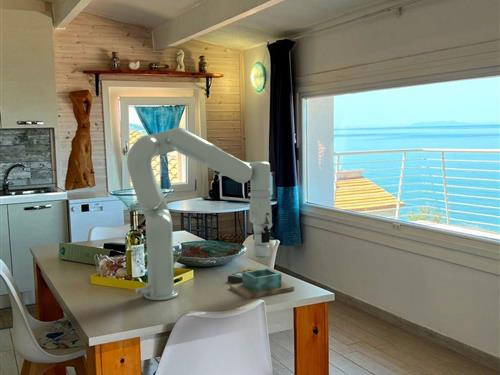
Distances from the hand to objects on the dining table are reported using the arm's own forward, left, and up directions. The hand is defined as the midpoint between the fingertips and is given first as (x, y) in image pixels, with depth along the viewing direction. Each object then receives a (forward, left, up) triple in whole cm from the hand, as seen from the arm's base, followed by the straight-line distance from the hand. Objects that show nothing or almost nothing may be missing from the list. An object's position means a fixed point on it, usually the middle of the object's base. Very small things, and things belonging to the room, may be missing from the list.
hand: (261, 240), depth 210 cm
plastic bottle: (0, 0, -7) cm, 7 cm away
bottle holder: (0, 0, -19) cm, 19 cm away
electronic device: (+2, +17, -20) cm, 26 cm away
